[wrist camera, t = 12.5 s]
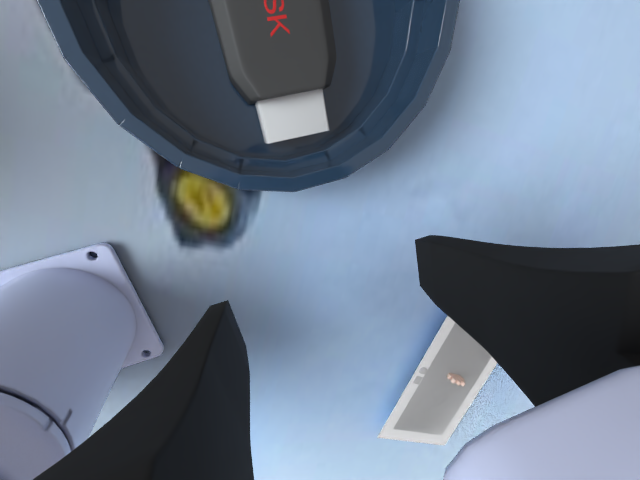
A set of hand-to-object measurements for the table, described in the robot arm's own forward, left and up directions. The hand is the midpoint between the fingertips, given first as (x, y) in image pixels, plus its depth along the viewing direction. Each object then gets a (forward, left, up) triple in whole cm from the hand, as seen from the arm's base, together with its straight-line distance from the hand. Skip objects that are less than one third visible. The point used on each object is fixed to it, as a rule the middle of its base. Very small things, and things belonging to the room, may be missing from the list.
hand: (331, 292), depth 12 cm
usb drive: (+2, +11, -9) cm, 14 cm away
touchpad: (+10, -17, -10) cm, 22 cm away
